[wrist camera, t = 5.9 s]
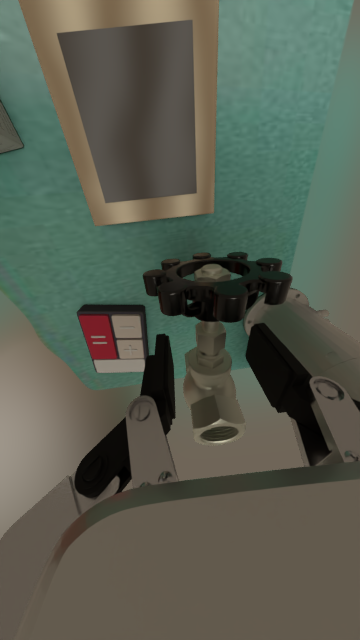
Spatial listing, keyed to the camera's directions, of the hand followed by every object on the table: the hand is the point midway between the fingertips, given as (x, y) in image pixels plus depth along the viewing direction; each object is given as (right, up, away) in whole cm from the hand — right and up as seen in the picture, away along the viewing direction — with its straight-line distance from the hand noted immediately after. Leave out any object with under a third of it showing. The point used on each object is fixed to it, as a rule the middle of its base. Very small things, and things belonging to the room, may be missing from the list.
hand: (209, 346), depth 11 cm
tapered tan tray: (-6, +22, +7) cm, 24 cm away
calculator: (-14, -1, +23) cm, 27 cm away
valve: (0, +1, +3) cm, 3 cm away
